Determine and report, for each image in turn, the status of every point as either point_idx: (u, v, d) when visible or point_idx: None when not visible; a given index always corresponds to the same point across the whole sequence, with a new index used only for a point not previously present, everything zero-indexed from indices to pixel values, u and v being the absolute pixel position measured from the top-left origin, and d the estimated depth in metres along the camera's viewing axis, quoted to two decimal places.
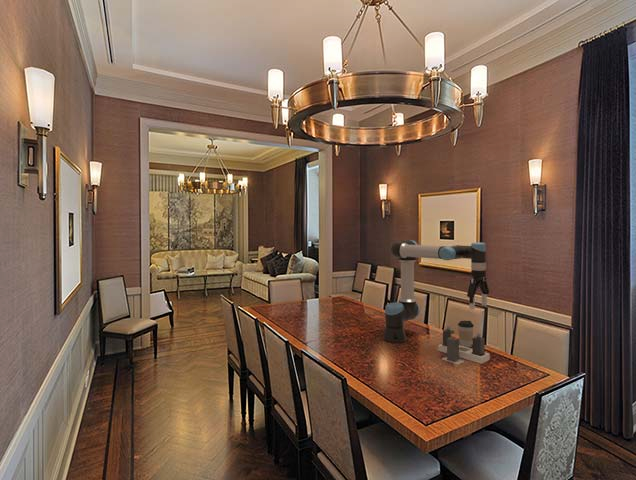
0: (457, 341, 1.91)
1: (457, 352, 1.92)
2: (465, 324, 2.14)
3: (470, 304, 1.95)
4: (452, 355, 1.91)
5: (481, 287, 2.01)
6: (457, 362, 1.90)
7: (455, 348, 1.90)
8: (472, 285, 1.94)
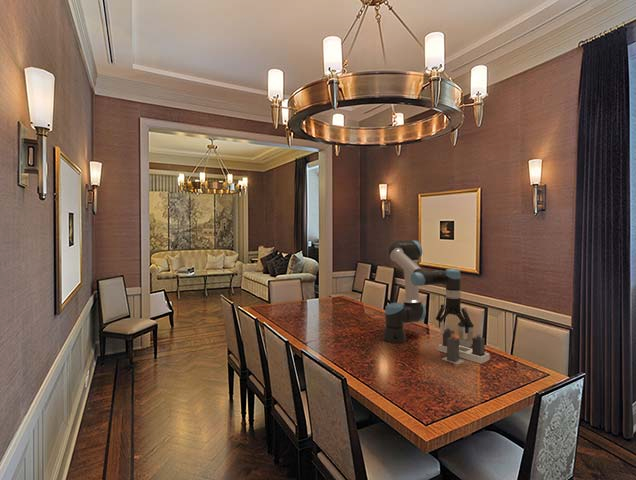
0: (457, 341, 1.91)
1: (457, 352, 1.92)
2: None
3: None
4: (452, 355, 1.91)
5: None
6: (457, 362, 1.90)
7: (455, 348, 1.90)
8: None
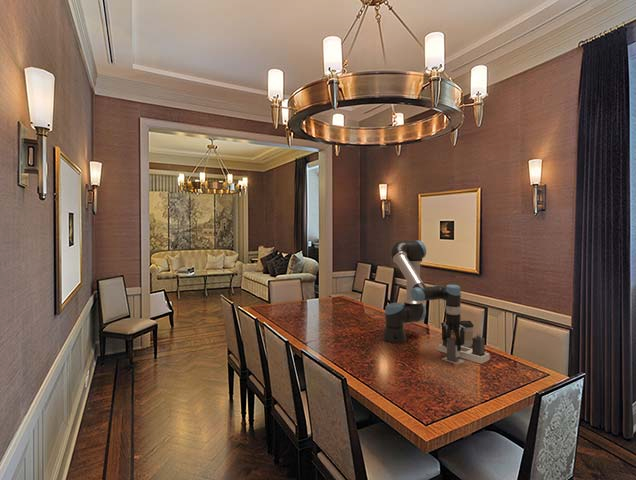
0: None
1: None
2: (465, 324, 2.14)
3: None
4: (452, 355, 1.91)
5: None
6: (457, 362, 1.90)
7: (455, 348, 1.90)
8: None
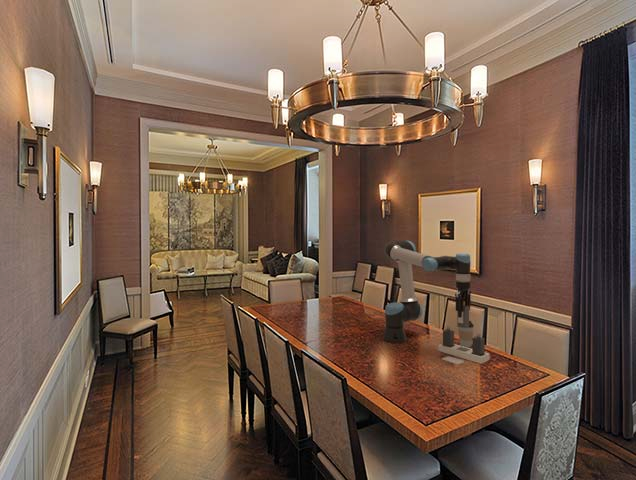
0: None
1: None
2: None
3: (459, 318, 1.97)
4: (467, 320, 1.98)
5: (464, 300, 2.00)
6: (457, 362, 1.90)
7: None
8: (458, 299, 1.94)
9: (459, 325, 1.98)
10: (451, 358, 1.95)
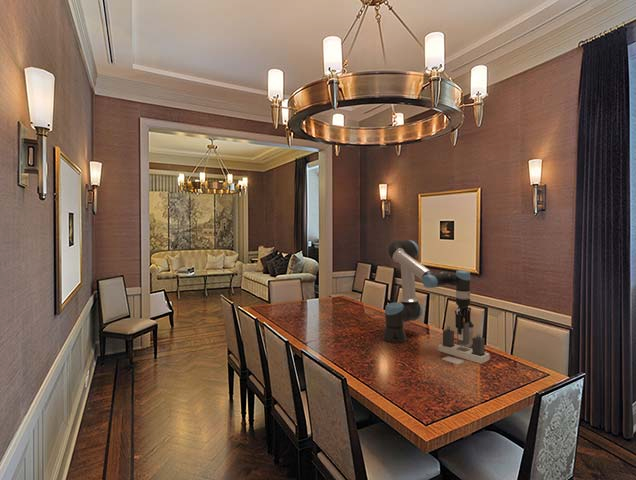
0: None
1: None
2: None
3: (459, 335, 1.98)
4: (467, 337, 1.98)
5: (464, 317, 2.00)
6: (457, 362, 1.90)
7: None
8: (458, 317, 1.95)
9: (459, 342, 1.99)
10: (451, 358, 1.95)
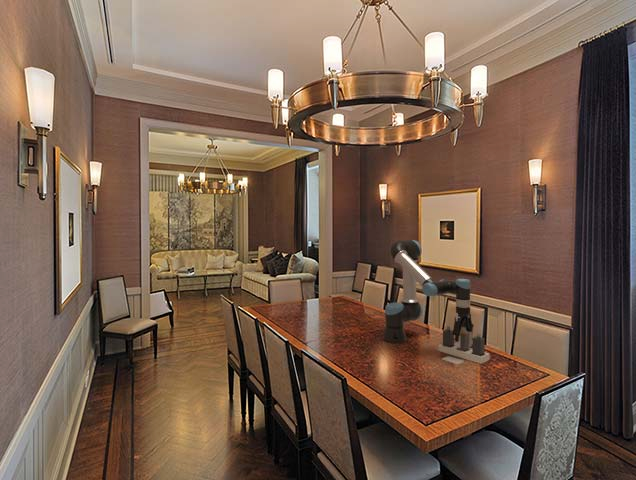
0: None
1: None
2: None
3: (456, 342, 1.96)
4: (467, 349, 1.98)
5: (465, 324, 2.01)
6: (457, 362, 1.90)
7: None
8: (457, 323, 1.94)
9: None
10: (451, 358, 1.95)
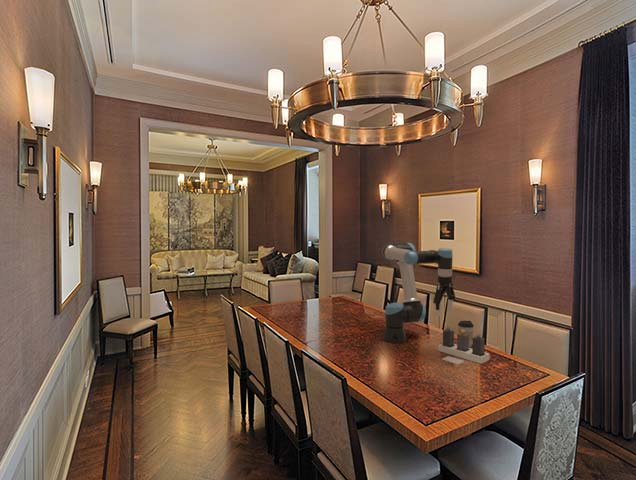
0: None
1: None
2: (465, 324, 2.14)
3: (436, 310, 1.94)
4: (467, 349, 1.98)
5: (447, 293, 2.01)
6: (457, 362, 1.90)
7: None
8: (438, 292, 1.92)
9: None
10: (451, 358, 1.95)
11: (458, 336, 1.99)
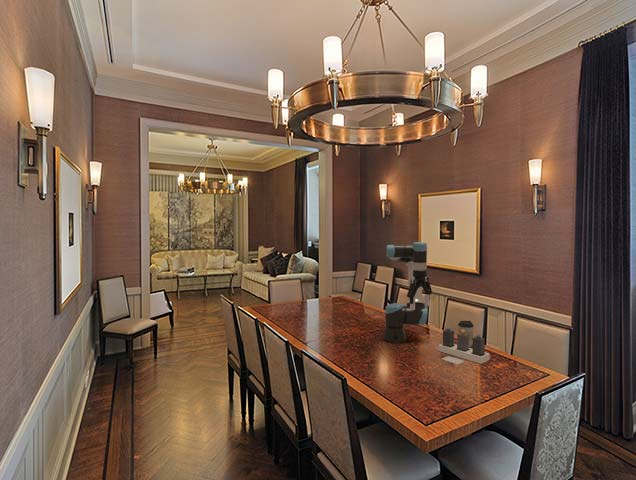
0: None
1: None
2: (465, 324, 2.14)
3: (410, 305, 1.92)
4: (467, 349, 1.98)
5: (423, 287, 1.99)
6: (457, 362, 1.90)
7: None
8: (412, 285, 1.91)
9: None
10: (451, 358, 1.95)
11: (458, 336, 1.99)
